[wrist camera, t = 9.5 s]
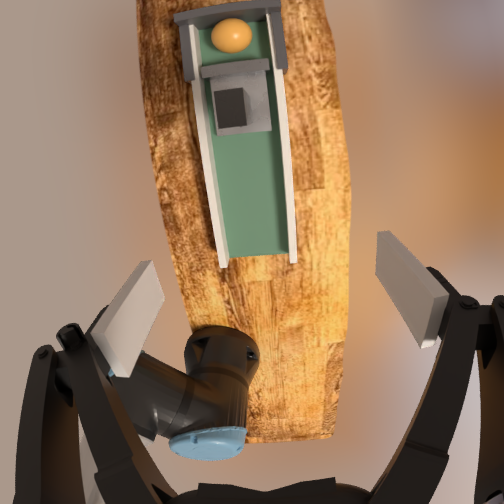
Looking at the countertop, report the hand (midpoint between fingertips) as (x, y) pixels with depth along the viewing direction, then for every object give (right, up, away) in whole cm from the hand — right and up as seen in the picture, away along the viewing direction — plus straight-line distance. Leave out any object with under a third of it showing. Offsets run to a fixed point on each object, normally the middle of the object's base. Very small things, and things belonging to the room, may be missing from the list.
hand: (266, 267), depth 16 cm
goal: (-3, +28, +15) cm, 32 cm away
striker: (-2, +20, +17) cm, 27 cm away
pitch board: (-2, +17, +21) cm, 27 cm away
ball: (-3, +27, +11) cm, 29 cm away
